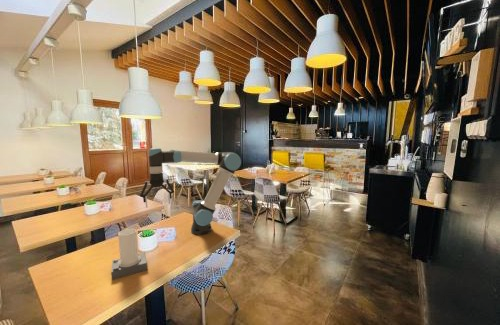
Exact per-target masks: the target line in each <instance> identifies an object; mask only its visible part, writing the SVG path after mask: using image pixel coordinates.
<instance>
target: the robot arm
mask: <svg viewBox="0 0 500 325" xmlns="http://www.w3.org/2000/svg"><path fill="white" fill-rule="evenodd" d="M181 162H183V163H184V162H185V163H197V164H198V163H200V164H215V165H216V166H218V168H219V170H218V173H217V174H216V176H215V178H214V180H213V182H212V183H211V184H212V185H211V186H210V187H209V190H208V192H207V194H206V196H204V197H205V198H204V199H200V200H195V201H193V202H192V224H191V228H190V232H191V234H193V235H196V234H202V235H206V234H209V233H210V232H212V230H211V229H212V225H211V223H212V222H213V219H214V213H215V211H216V205H217V203H218V201H219V199H220V196H222V193H223V191H224V189H225V187H226V185H227V184H228V181H229V179H230V178H231V176H233V175H234V174H235V172H236V170H238V169H240V167H241V164H242V159H241V157H240V156H239V155H238V154H237V153H236V152H230V151H223V152H218V151H217V152H215V153H213V152H202V151H201V152H200V151H199V152H198V151H190V150H189V151H188V150H187V151H185V150H174V149H170V150H167V151H165V150H162V148H160V147H159V148H154V147H153V148H149V149H148V164H149V180H148V181H147V180H145V181H144V185H143V188H142V190H141V192H140V194H139V196H140V198H142V200H143V203H145V208H146V209H147V208H148V195H149V193H150V192H151V191H152V189H153V188H160V187H162V188H163V189H164V190H165V191H166V192H167V198H168V199H167V201H168V205H171V199H172V197H173V196H172V195H173V194H174V193H175V191H174V188H173V187H172V186H171V183H170V182H169V181H170V180H169V179H168V178H166V179H164V173H163V172H164V171H163V164H172V163H174V164H175V163H177V164H178V163H181ZM164 183H165V184H167V186H168V188H167V187H166V185H164ZM149 184H150V186H149V187H148V185H149ZM147 187H148V189H147ZM146 189H147V190H146ZM208 232H209V233H208Z"/></svg>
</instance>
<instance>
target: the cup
mask: <svg viewBox="0 0 500 325" xmlns="http://www.w3.org/2000/svg"><path fill="white" fill-rule="evenodd" d="M117 234H118V235H117V236H118V246H119V257H120V258H119V259H120V261H121V264H122V265H128V264H132V263H134V262H136V261H137V260H138V254H139V252H138V238H137V237H138V236H137V230H136V229H135V228H127V229H122V230H121V231H119V232H118V233H117Z"/></svg>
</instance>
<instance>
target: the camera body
mask: <svg viewBox="0 0 500 325" xmlns="http://www.w3.org/2000/svg"><path fill="white" fill-rule="evenodd" d="M111 261H112V262H111V270H110V274H111V280H112V281H113V280H116V279H119V278H123V277H127V276H130V275H133V274H136V273H141V272H145V271H148V262H147V261H148V260H147V255H146V252H142V253H138V260H137V261H136V262H134V263H132V264H128V265H122V264H121V261H120V258H114V259H113V260H111Z"/></svg>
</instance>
